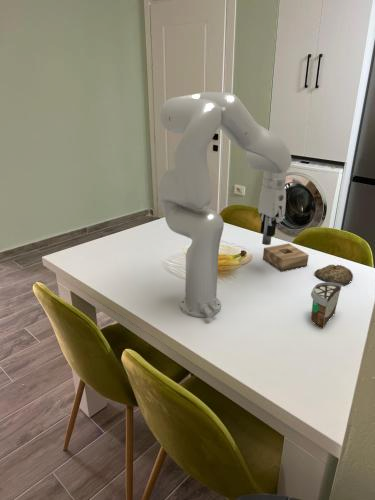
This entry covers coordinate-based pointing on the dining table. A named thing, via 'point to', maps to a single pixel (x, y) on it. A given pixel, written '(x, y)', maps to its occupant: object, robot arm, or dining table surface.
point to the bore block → (285, 257)
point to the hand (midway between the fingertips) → (267, 233)
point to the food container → (324, 302)
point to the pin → (266, 238)
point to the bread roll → (335, 274)
